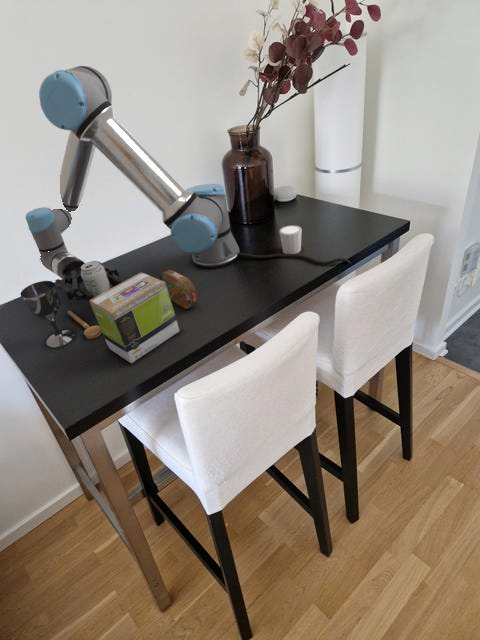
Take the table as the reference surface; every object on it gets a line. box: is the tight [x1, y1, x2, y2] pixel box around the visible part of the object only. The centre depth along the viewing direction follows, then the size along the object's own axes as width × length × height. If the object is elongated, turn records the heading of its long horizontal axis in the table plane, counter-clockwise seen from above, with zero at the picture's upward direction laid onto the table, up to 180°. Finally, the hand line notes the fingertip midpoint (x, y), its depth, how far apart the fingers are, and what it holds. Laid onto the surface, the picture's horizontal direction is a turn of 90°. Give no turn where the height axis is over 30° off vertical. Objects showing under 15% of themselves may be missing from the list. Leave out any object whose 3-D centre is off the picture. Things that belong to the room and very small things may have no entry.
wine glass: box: [20, 280, 75, 348], centre depth 107 cm, size 8×8×15 cm
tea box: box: [89, 271, 180, 364], centre depth 101 cm, size 15×10×15 cm
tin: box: [159, 269, 198, 310], centre depth 116 cm, size 15×3×8 cm, turn 40°
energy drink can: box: [81, 260, 112, 298], centre depth 114 cm, size 6×6×15 cm
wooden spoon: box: [67, 310, 103, 340], centre depth 115 cm, size 17×4×1 cm, turn 42°
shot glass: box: [279, 225, 303, 254], centre depth 133 cm, size 7×7×7 cm
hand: (106, 292), depth 110 cm, fingers open, 8 cm apart
